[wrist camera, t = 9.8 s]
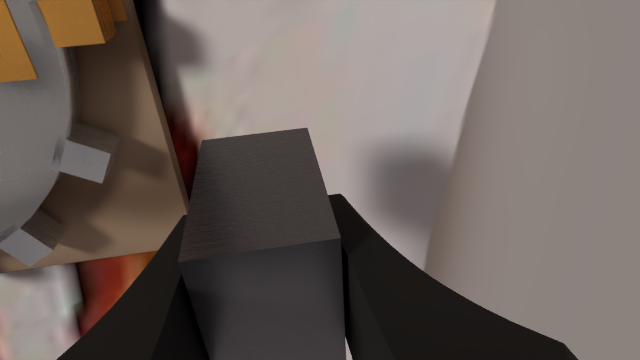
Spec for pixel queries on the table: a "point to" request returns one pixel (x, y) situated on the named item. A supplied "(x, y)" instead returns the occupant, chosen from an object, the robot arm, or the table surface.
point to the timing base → (117, 157)
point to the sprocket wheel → (45, 115)
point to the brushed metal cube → (264, 251)
